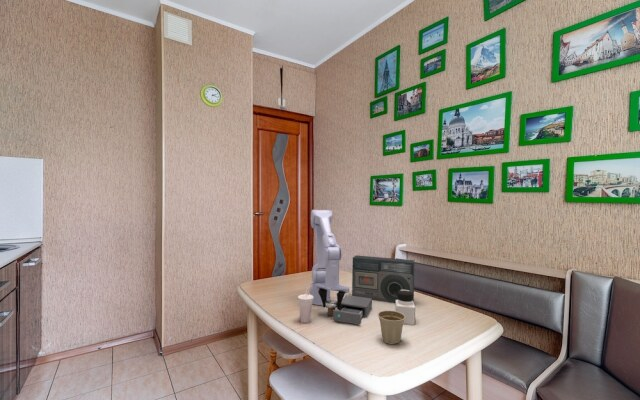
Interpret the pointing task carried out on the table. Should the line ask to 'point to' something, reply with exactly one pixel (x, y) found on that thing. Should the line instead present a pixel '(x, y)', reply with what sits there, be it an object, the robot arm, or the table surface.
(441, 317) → the table surface
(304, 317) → the smoothie
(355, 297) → the disc
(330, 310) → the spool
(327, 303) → the disc
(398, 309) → the medicine bottle
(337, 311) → the tray
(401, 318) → the flower pot
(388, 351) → the table surface
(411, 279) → the cassette player
